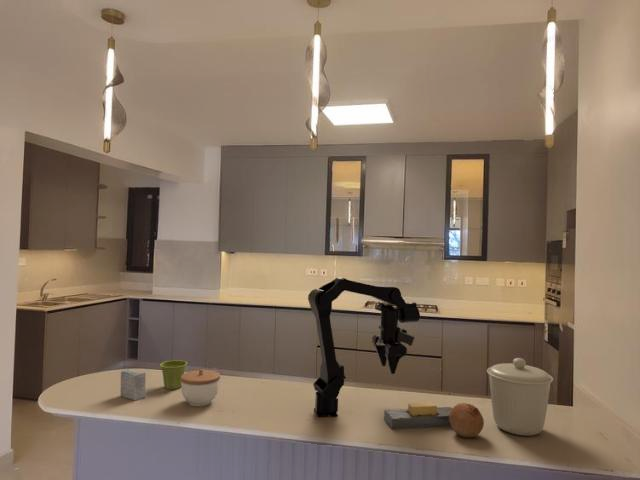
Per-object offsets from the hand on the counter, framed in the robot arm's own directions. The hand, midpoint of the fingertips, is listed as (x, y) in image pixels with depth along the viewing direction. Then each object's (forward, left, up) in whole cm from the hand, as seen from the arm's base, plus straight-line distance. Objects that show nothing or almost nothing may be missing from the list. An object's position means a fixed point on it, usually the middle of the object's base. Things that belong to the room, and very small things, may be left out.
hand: (388, 369), depth 150 cm
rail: (+6, -15, -12) cm, 20 cm away
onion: (+15, -25, -12) cm, 32 cm away
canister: (+33, -23, -12) cm, 42 cm away
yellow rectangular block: (+6, -15, -12) cm, 20 cm away
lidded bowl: (-62, +10, -12) cm, 64 cm away
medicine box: (-85, +18, -12) cm, 88 cm away
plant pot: (-73, +27, -12) cm, 79 cm away
